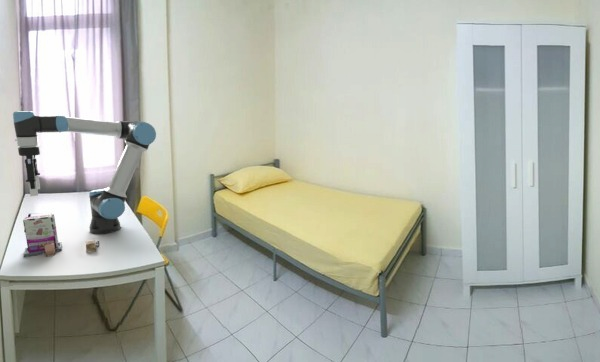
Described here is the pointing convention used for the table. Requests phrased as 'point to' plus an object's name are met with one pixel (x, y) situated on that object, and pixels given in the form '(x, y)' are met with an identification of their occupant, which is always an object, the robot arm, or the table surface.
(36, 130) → the robot arm
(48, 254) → the brown small cube
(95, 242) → the dark gray slab
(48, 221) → the candy bar box
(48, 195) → the table surface
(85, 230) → the table surface
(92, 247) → the oak cube
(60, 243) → the slate tray
